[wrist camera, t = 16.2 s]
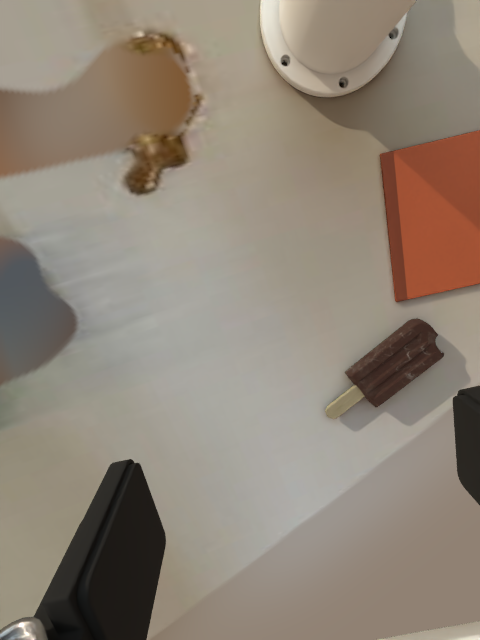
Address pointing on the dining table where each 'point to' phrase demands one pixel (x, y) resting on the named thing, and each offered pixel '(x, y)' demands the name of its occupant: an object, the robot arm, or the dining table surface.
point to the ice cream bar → (389, 366)
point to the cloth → (433, 215)
